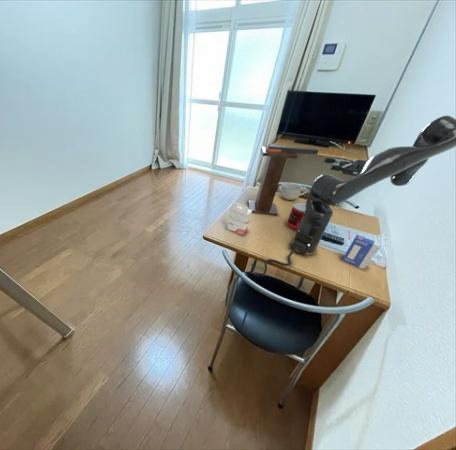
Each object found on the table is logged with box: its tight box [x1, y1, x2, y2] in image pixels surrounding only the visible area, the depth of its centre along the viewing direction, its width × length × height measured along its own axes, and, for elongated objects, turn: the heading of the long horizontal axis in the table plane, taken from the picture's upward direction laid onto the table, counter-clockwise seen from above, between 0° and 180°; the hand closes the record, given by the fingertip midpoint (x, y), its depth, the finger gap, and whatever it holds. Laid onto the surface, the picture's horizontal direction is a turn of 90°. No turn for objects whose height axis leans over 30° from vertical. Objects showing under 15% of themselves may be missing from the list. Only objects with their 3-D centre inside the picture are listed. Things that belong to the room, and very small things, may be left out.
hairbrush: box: [265, 143, 320, 155], centre depth 116 cm, size 22×5×2 cm, turn 76°
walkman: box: [341, 234, 382, 270], centre depth 97 cm, size 8×3×12 cm, turn 45°
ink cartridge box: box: [226, 201, 252, 236], centre depth 115 cm, size 9×5×15 cm, turn 47°
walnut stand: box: [247, 146, 299, 217], centre depth 127 cm, size 15×12×32 cm
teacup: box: [279, 181, 308, 201], centre depth 144 cm, size 14×11×8 cm
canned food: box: [286, 202, 306, 231], centre depth 119 cm, size 8×8×11 cm
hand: (328, 163), depth 117 cm, fingers open, 8 cm apart
